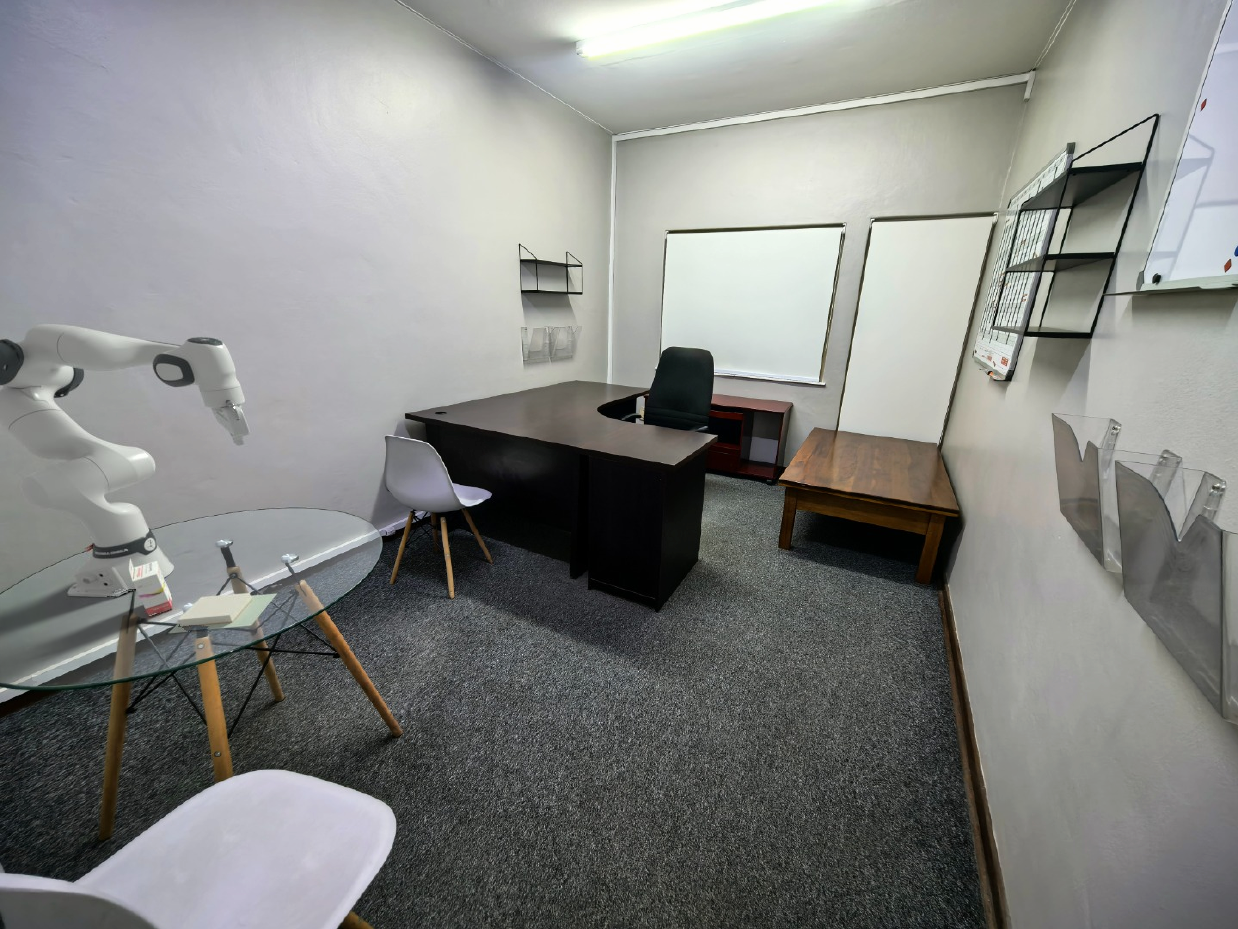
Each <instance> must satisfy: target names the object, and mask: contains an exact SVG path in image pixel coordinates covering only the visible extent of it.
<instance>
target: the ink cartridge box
mask: <svg viewBox="0 0 1238 929" xmlns="http://www.w3.org/2000/svg"><path fill="white" fill-rule="evenodd" d="M129 574H130V577H131V580H132V583H133V585H134V587H135V589H136V590H135V591H136V593H137V595H138V597H139V599H140V601H141V603H142V606H143V607H144V609H145V611H146V613H147V615H148V616H149V615H152V614H154V613H160V612H163V613H165V611H166V612H168V611H167V610H169V611H171V610H170V609H172V610H173V598H172V597H171V595H172V594H171V592H170V588H169V586H168V584H167V582H166V580H165V578H164V577H163V575H162V573H161V570H160V568H159V566H158V563H157V561H155V562H151V563H148V564H144V565H141V566H138V567H134V568H133V565H132V561H131V559H130V561H129ZM160 614H161V613H160Z"/></svg>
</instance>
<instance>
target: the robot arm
mask: <svg viewBox="0 0 1238 929" xmlns="http://www.w3.org/2000/svg"><path fill="white" fill-rule="evenodd" d="M149 365H150V366H151V365H152V371H153V372H154V374H155V376H156V377H157V379H158V380H160V382H162V383H164V384H165V385H167V386H168V387H169V386H170V387H173V388H186V387H190V386H197V387H198V389H199V391H200V395H201V398H202V401H203V404H204V406H205V407H207V408H211V411H212V413H213V415H214V417H215V419H216V421H217V422H218V423H219V425H221V426H222V427H223V428H224V429H226V431H227V432H228V433H229V434H230V436H231V438H232V441H233V444H235V445H236V446H242V445H245V441H244V438H243V437H245V436H248V435H250V434H251V431H250V427H249V425H248V421H247V418H246V415H245V414H244V412H243V410H242V408H243V406H242V404H244V403H245V402H246V399H245V398H246V397H245V395H244V392H243V389H242V386H241V385H242V384H241V383H240V381H239V380H238V379H237V374H236V372H237V369H236V365H235V364H234V360H233V357H232V356H231V353H230V350H229V349H228V347H227V346H226V344H225V343H224V342H223V341H221V340H219V339H218V338H213V337H203V336H201V337H199V336H198V337H197V336H196V337H191V338H188V339H186V340H185V341H184V343H182V344H181V345H180V344H175V343H168V342H161V341H154V340H148V339H142V338H136V337H130V336H126V335H125V336H124V335H121V334H120V335H119V334H114V333H111V332H106V331H101V330H98V329H97V330H96V329H91V328H88V327H87V328H86V327H83V326H82V327H80V326H77V325H68V324H56V323H55V324H54V323H41V324H38V325H37V324H36V325H34V326H33V327H31V328H29V330H27V331H26V333H25V335H24V339H23V340H22V341H19V342H14V341H12V340H10V339H7V338H1V339H0V386H2V389H0V424H1V425H2V426H3V427H4V428H5V430H6V431H8V432H9V433H10V435H12V437H14V438H15V439H16V440H17V441H18V442H19V444H20V445H22V446H23V447H24V449H25V450H27V451H28V452H29V453H30V454H32V455H34V456H36V457H39V458H42V459H48V460H58V461H60V460H61V461H64V462H59V463H55V464H53V465H49V466H46V467H43V468H40V469H39V470H36V471H34V472H31V473H29V474H27V475H24V476H23V478H22V479H21V482H20V483H19V484H20V485H19V490H20V491H19V492H20V494H21V496H22V497H23V498H24V500H25V501H26V502H28V503H29V504H30V505H32V506H34V507H37V508H39V509H44V510H51V511H57V512H60V513H61V512H62V513H63V514H64V513H65V514H67V515H69V516H71V517H73V518H75V519H76V520H77V521H79V522H80V523H81V524H82V525H83V527H84V528H85V530H86V531H87V533H88V535H89V536H90V538H91V540H92V543H91V544H90V545H88V546H87V547H85V548H84V550H86V551H85V552H86V553H88V552H89V551H92V554H91V556H89V557H88V558H87V560H85V561H84V562H83V563H82V564H81V565H80V566H79V567H78V568H76V570H75V572H74V578H75V582H76V583H74V584H73V585H71V587H70V588H69V589H68V590H67V596H68V597H93V598H108V597H107V596H112V595H117V594H120V593H121V592H123V589H124V591H126V590H128V589H135V587H134V585H133V583H132V580H131V577H130V574H129V561H130V559H131V561H132V565H133V568H134V567H138V566H141V565H144V564H148V563H151V562H155V561H157V563H158V566H159V568H160V570H161V573H162V575H163V577H164V579H165V578H166V577H168V576H169V575H170V574H171V573H172V572H173V571H174V569H175V565H174V564H173V563H172V562H171V561H170V560H169V558H168V557H167V556H166V555H165V554H164V552H163V551H162V549H161V547H159V545H158V544H157V540H156V539H157V538H156V537H155V534H154V532H153V530H152V529H151V528H150V527H149V526H148V524H147V522H146V520H145V518H144V515H143V512H142V511H141V509H140V508H139V507H138V506H137V505H136V504H135V505H134V504H132V503H129V502H119V501H118V502H117V501H112V502H109V501H107V500H106V498H105V495H108V494H110V493H113V492H116V491H120V490H122V489H125V488H128V487H132V486H135V485H136V484H140V483H142V482H143V481H146V479H149V478H151V477H153V475H154V474H155V471H156V461H155V458H153V456H152V455H151V454H150V453H149V452H148V451H146V450H144V449H143V448H140V447H137V446H128V445H121V444H116V443H114V442H109V441H106V440H105V439H101V438H99V437H97V436H95V435H92V434H91V433H89V432H88V431H86V430H85V429H84V428H82V427H81V426H80V425H79V424H78V423H77V422H76V421H74V420H73V418H72V417H70V416H69V415H68V413H66V412H65V411H64V410H63V409H62V408H61V407H60V406H59V405H58V404H57V403H56V402H55V400H54V398H55V399H60V398H65V397H67V396H68V395H69V393H70V392H72V391H74V390H76V389H77V388H78V387H79V386H80V385H81V384H82V382H83V381H84V378H85V371H94V372H95V371H96V372H98V371H99V372H111V371H118V370H125V369H128V368H134V367H140V366H149ZM84 370H85V371H84ZM119 589H121V590H119ZM115 590H118V591H116V592H115ZM114 592H115V593H114Z"/></svg>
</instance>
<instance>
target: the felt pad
mask: <svg viewBox="0 0 1238 929" xmlns="http://www.w3.org/2000/svg"><path fill="white" fill-rule="evenodd" d="M277 594H278V593H266V594H255V595H254V594H253V595H251V598H252V601H251V602H250V603H249V604H248V605H247V607H246V608H245V609H244V610H243V611H242V612H241V613H240V614H239V616H238V617H237V618H236V619H235V620H234V621H233V622H231V623H220V624H209V625H204V626H209V627H208V628H209V629H208V628H207V629H208V630H207V631H210V630H219V629H220V630H221V629H231V628H232V629H233V628H241V627H242V628H243V627H251V626H252V625H253V624H254V623H255V621H257V619H258V618H259V616H260V615H261V614H262V613H263V612H264V610H265V609H267V607H268V606H269V604H270V603H271V602H272V601H273V600H274V598H275V597H276V596H277ZM178 626H179V622H178V623H177V624H176V625H175V626H174V627H173V628H172V629H171V630H170V631H169V632H168V634H175V633H187V632H188V631H186V630H184V628H182V627H178ZM202 626H203V625H202ZM188 633H189V632H188Z"/></svg>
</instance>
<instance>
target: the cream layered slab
mask: <svg viewBox="0 0 1238 929" xmlns="http://www.w3.org/2000/svg"><path fill="white" fill-rule="evenodd" d="M251 596H252V595H251V592H246V593H233V594H223V595H212V596H211V595H210V596H201V597H200V598H198V600H196V602H194V603H193V605H191V606H190V607H189V608H188V609H187V610H186V611H184V613H183V614H182V615H181V616H180V617H179V618H177V622H178V623H179V624H180V626H181V627H183V626H189V625H209V624H220V623H231V622H233V621H234V620H235V619H236V618H237V617H238V616H239V614H240V613H241V612H242V611H243V610H244V609H245V608H246V607H247V605H248V604H249V603H250V602H251V601H252V598H251Z"/></svg>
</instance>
